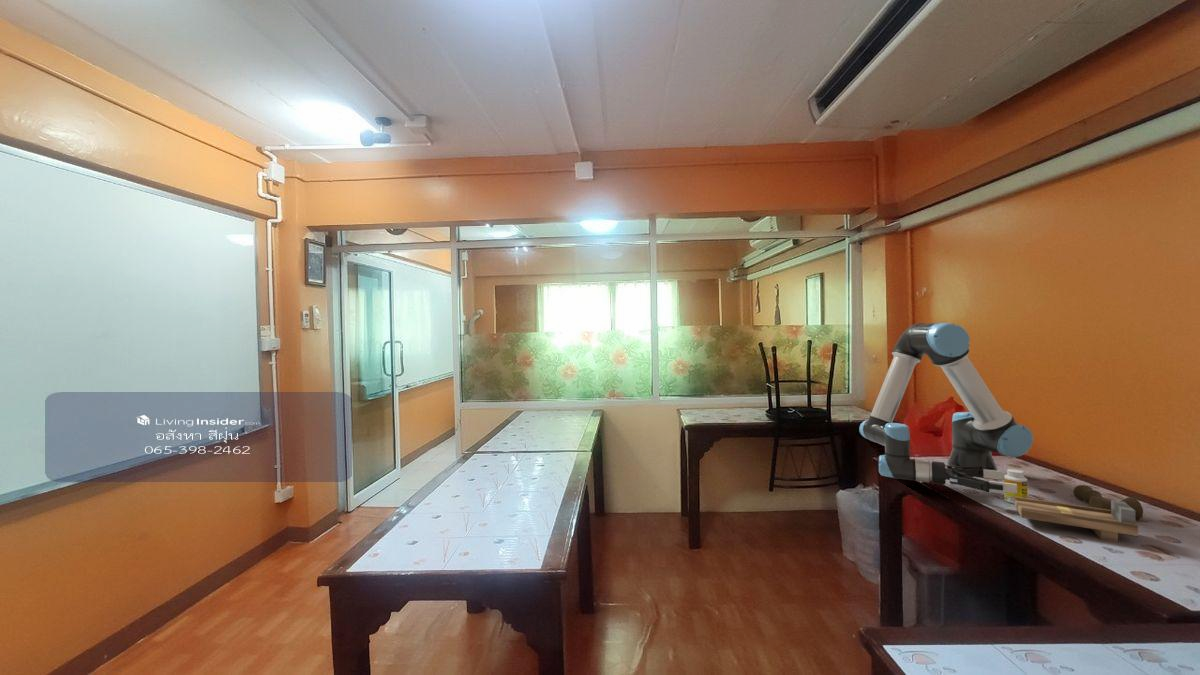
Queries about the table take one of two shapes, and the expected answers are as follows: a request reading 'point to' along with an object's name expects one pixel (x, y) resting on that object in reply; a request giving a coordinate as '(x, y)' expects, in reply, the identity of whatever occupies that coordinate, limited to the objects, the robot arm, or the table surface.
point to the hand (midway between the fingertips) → (1013, 482)
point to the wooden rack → (1082, 516)
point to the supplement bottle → (1015, 478)
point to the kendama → (1104, 500)
